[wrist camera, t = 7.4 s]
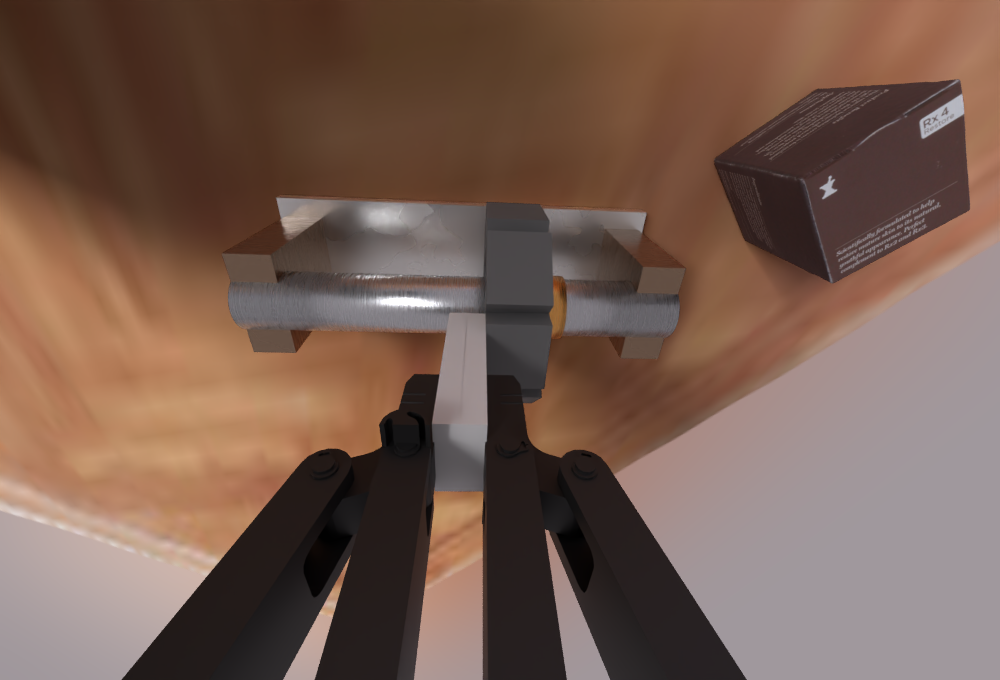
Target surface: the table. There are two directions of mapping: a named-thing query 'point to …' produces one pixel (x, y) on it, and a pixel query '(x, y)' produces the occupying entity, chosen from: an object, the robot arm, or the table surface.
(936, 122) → the box
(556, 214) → the pipe rig
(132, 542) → the table surface
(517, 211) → the grey hex nut
